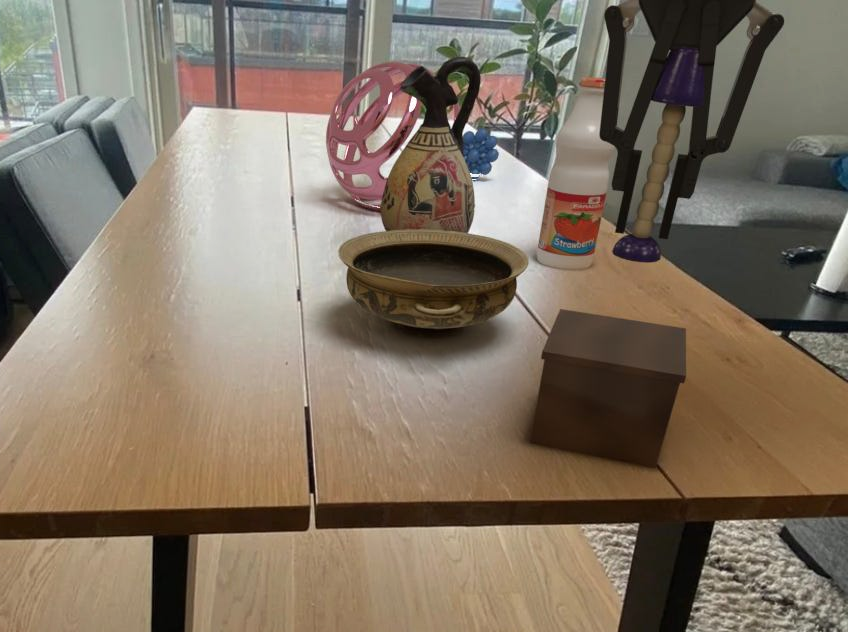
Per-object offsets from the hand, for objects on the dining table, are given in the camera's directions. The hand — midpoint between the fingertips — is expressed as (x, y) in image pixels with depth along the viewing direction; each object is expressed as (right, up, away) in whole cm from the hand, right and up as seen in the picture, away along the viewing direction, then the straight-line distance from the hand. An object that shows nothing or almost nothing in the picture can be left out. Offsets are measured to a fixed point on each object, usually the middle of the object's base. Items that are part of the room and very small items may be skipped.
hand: (641, 231), depth 68 cm
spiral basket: (-21, +35, +91) cm, 100 cm away
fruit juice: (+9, +15, +62) cm, 65 cm away
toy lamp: (0, -2, +1) cm, 2 cm away
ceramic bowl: (-17, -2, +34) cm, 37 cm away
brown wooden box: (-1, -17, +11) cm, 20 cm away
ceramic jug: (-14, +16, +63) cm, 66 cm away
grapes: (+1, +51, +120) cm, 130 cm away
